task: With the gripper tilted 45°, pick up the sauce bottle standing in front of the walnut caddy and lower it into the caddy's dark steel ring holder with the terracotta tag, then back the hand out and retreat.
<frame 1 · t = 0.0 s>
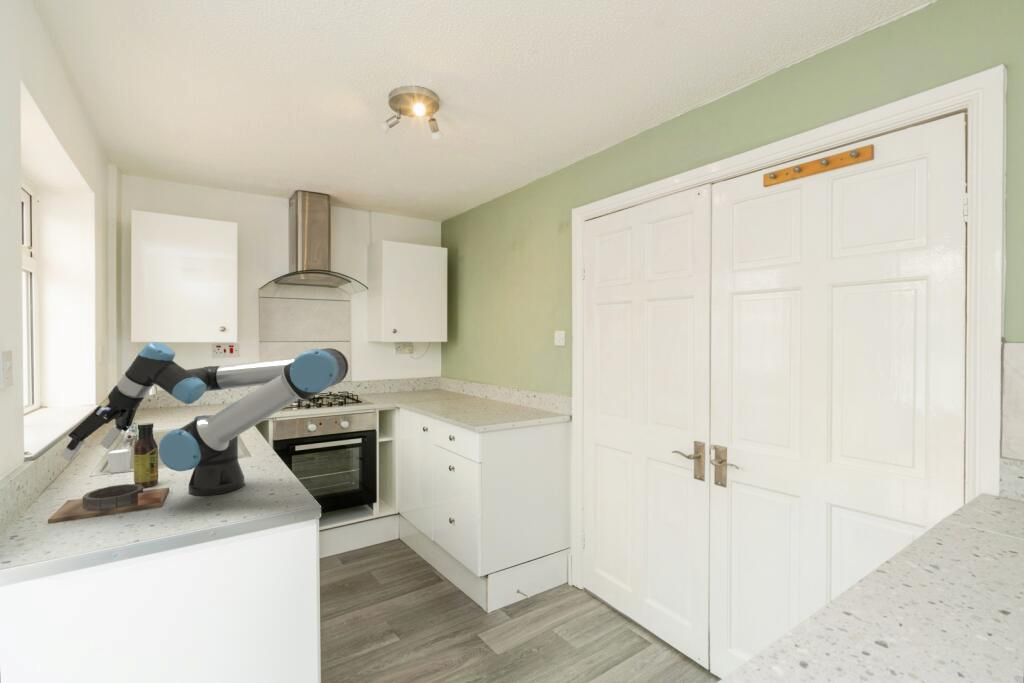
hand: (85, 451, 139), 15 cm above the countertop, tool tilted 35°, fingers open, 13 cm apart
sauce bottle: (146, 486, 157), on the countertop
caddy: (114, 505, 139), on the countertop
white cube: (119, 471, 174), on the countertop
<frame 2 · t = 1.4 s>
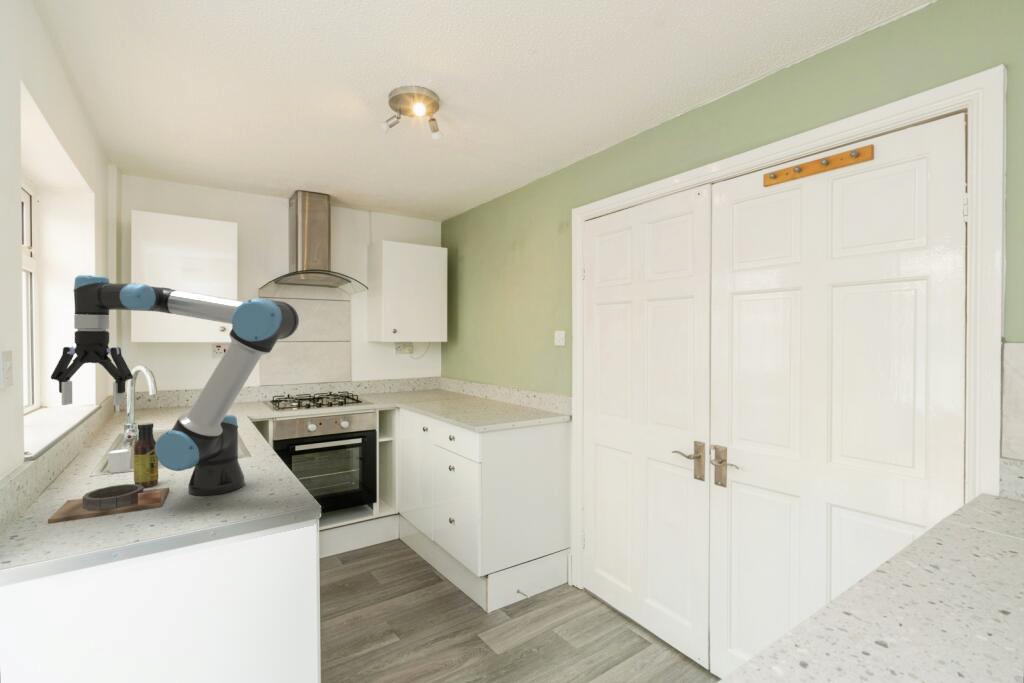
hand: (92, 404, 140), 29 cm above the countertop, tool pointing down, fingers open, 13 cm apart
nothing on the countertop moved.
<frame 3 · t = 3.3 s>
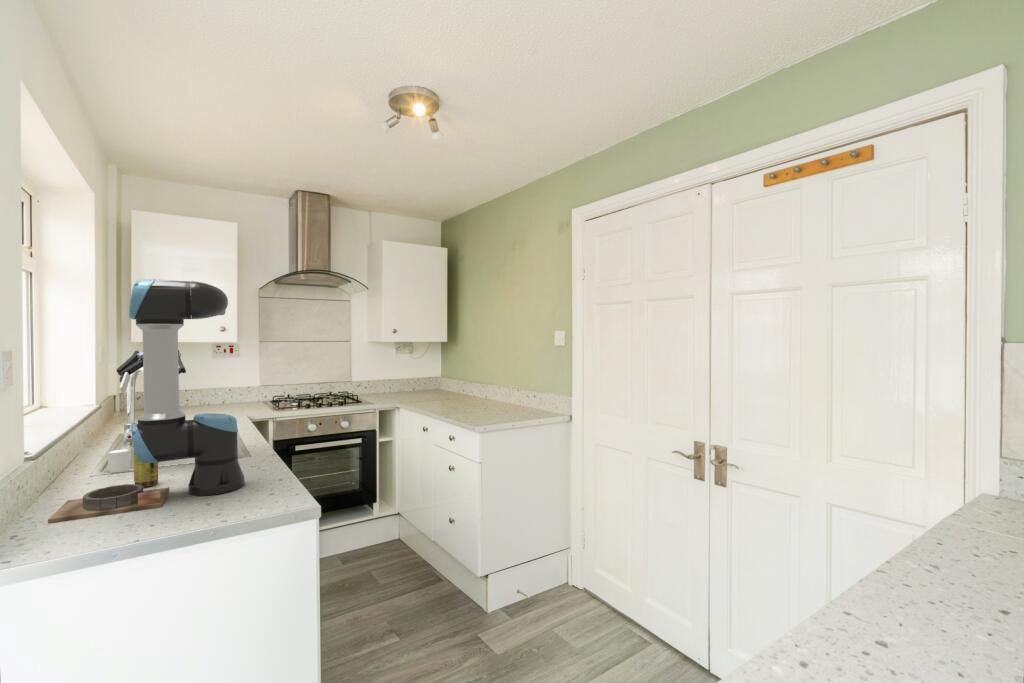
hand: (145, 389, 165), 30 cm above the countertop, tool tilted 45°, fingers open, 13 cm apart
nothing on the countertop moved.
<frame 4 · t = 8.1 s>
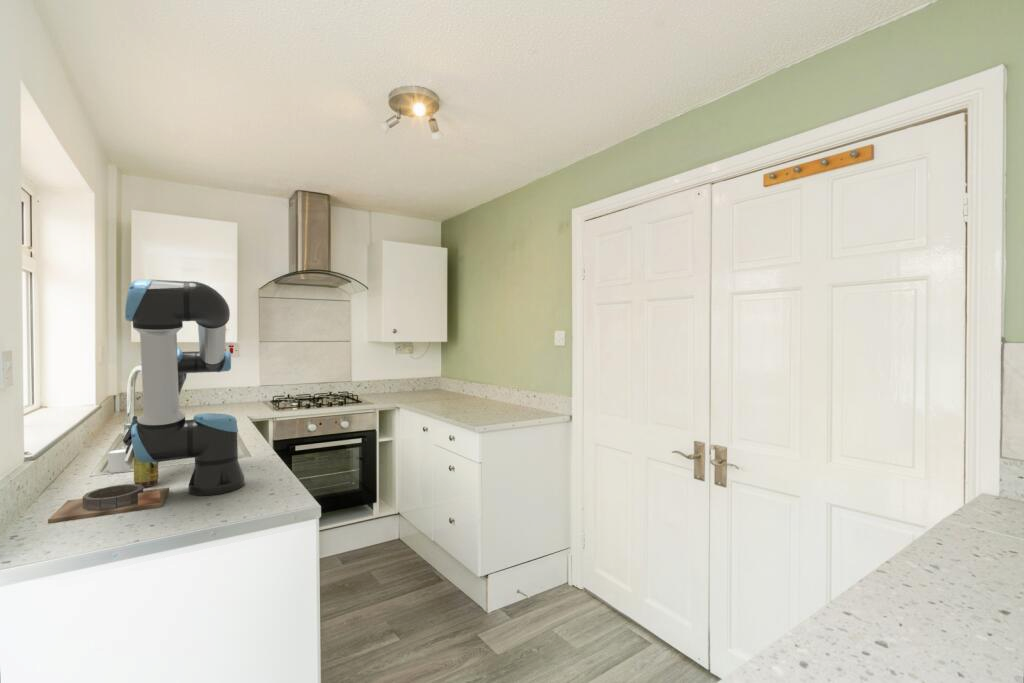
hand: (140, 462, 153), 8 cm above the countertop, tool tilted 45°, fingers closed on sauce bottle, 6 cm apart
sauce bottle: (146, 486, 157), on the countertop, touching gripper
everything else where it was.
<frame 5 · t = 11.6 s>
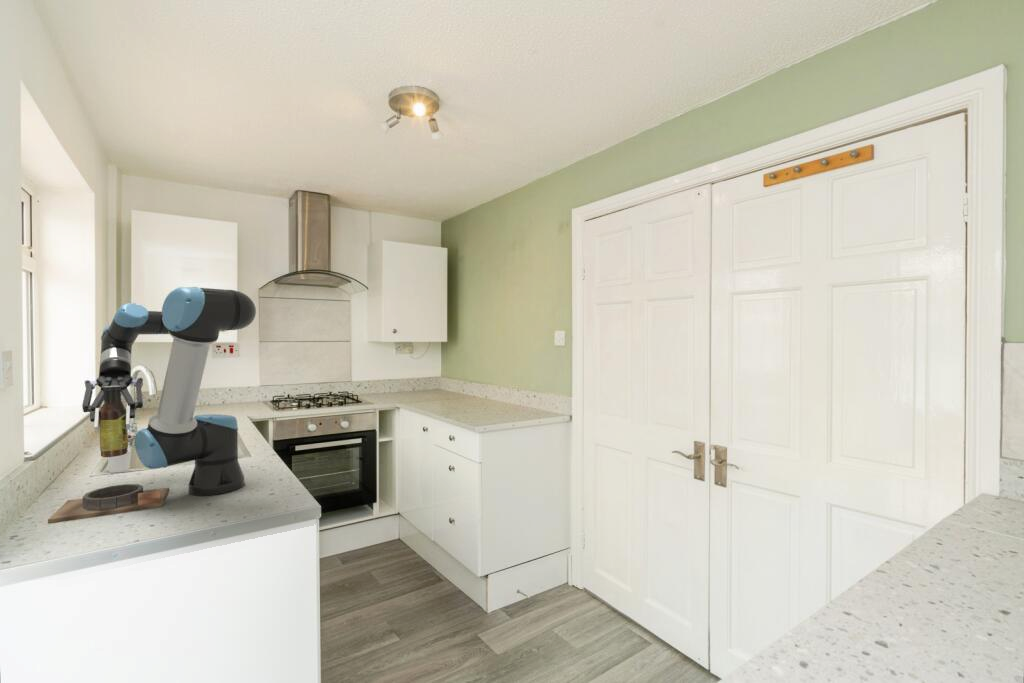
hand: (112, 428, 137), 22 cm above the countertop, tool tilted 45°, fingers closed on sauce bottle, 6 cm apart
sauce bottle: (114, 455, 140), point 14 cm above the countertop, touching gripper
everything else where it was.
when the fingers open (11 cm above the countertop, at t = 15.0 s): sauce bottle drops 1 cm, resting on caddy.
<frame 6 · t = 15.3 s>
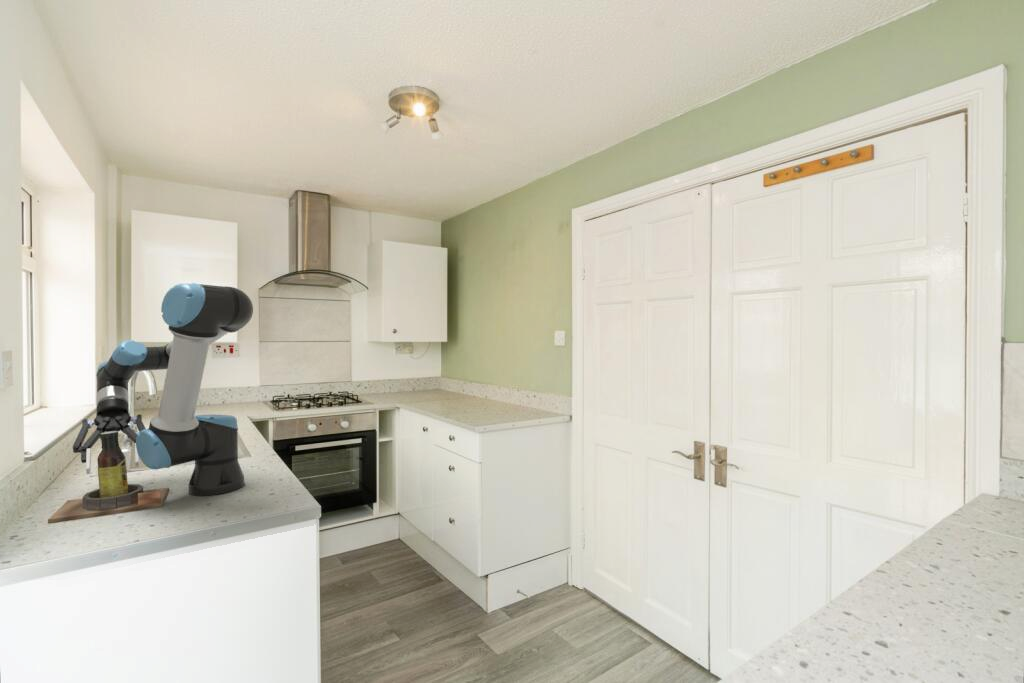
hand: (113, 467, 136), 11 cm above the countertop, tool tilted 45°, fingers open, 10 cm apart
sauce bottle: (114, 502, 139), point 1 cm above the countertop, touching caddy
everything else where it was.
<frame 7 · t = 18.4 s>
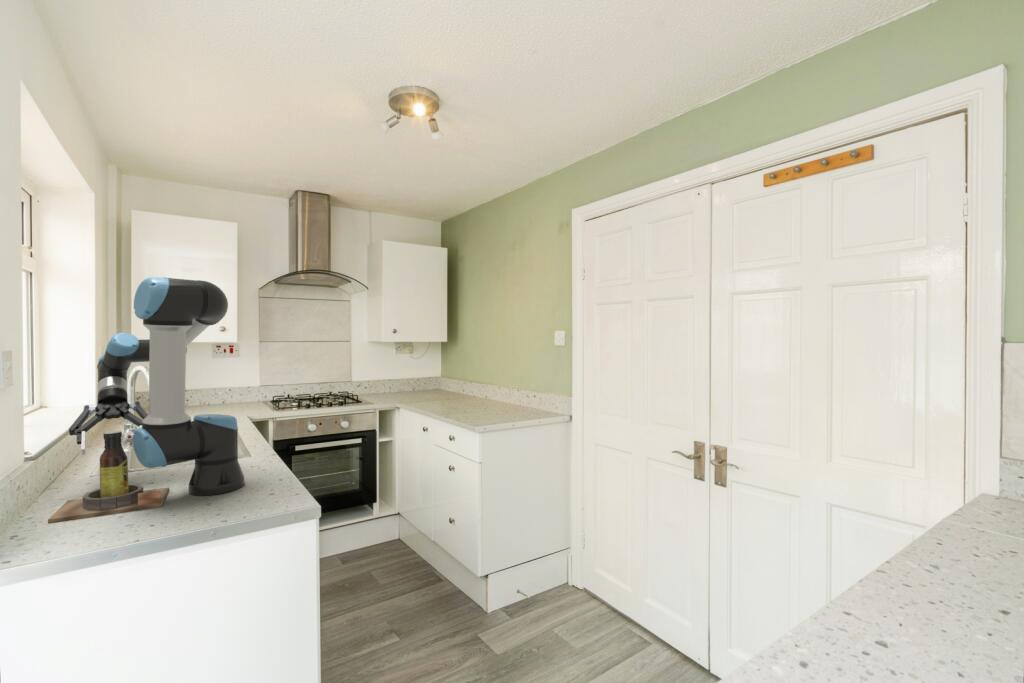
hand: (113, 448, 147), 14 cm above the countertop, tool tilted 45°, fingers open, 13 cm apart
nothing on the countertop moved.
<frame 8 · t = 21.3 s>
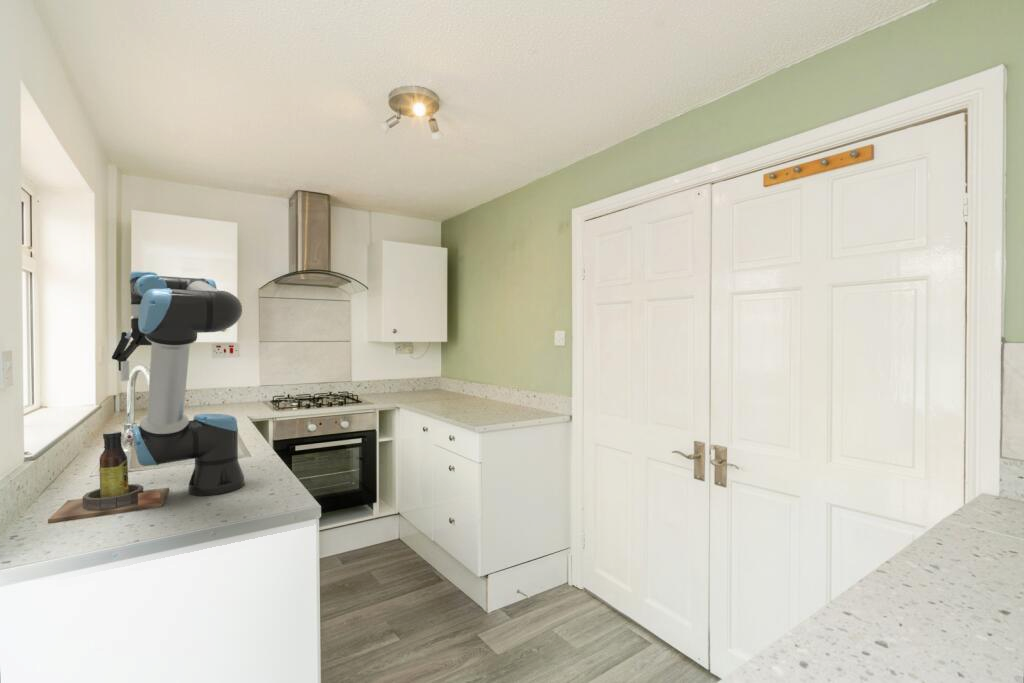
hand: (146, 380, 166), 33 cm above the countertop, tool pointing down, fingers open, 13 cm apart
nothing on the countertop moved.
at the end: sauce bottle 0.1 cm off-centre on the caddy, point 0.8 cm above the caddy's base; sauce bottle tilted 0°; the gripper is holding nothing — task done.
